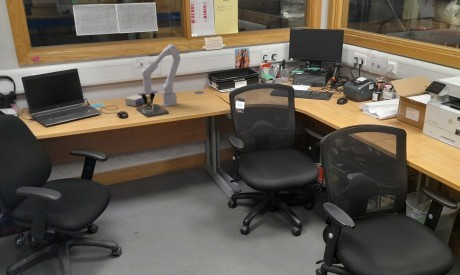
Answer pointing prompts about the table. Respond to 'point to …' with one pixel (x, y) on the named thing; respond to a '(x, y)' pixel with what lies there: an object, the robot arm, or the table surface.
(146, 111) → the fitting board
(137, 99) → the ink cartridge box
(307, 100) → the table surface
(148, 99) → the brass cylinder
